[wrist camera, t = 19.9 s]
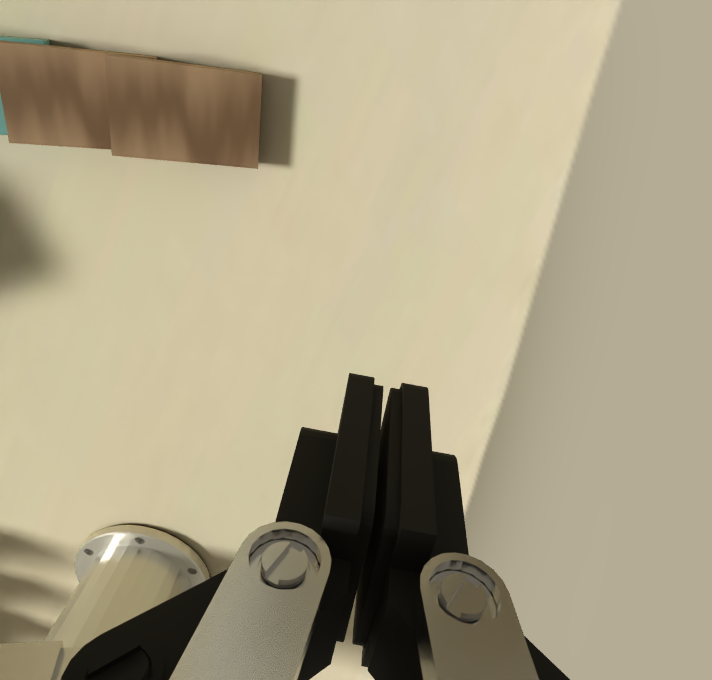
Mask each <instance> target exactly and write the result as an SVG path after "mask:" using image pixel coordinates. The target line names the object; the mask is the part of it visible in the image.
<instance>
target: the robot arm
mask: <svg viewBox="0 0 712 680" xmlns="http://www.w3.org/2000/svg"><path fill="white" fill-rule="evenodd" d="M382 399H383V386H379V385H374V378H373V377H368V376H363V375H357V374H352V373H349V378H348V383H347V388H346V393H345V398H344V404H343V409H342V414H341V419H340V425H339V430H338V434H337V433H331V432H326V431H321V430H315V429H310V428H305V427H302V428H301V431H300V435H299V438H298V442H297V445H296V449H295V453H294V456H293V460H292V464H291V467H290V471H289V474H288V478H287V482H286V485H285V489H284V493H283V496H282V500H281V504H280V507H279V511H278V514H277V518H276V522H273V523H270V524H267V525H264V526H261V527H259V528H258V529H256V530H255V531H253V532H252V533H250V534H249V535H248V537H247V538H246V539H245V540H244V542H243V543H242V545H241V546H240V548H239V550H238V552H237V554H236V556H235V558H234V560H233V561H232V563H231V565H230V567H229V569H227V570H225V571H223V572H221V573H219V574H217V575H216V576H214V577H212V578H210V576H209V572H208V570H207V568H206V566H205V564H204V562H203V561H202V560H201V558H200V557H199V556H198V555H197V554H196V553H195V552H194V551H193V550H192V549H191V548H190V547H189V546H188V545H186V544H185V543H183V542H182V541H180V540H179V539H177V538H175V537H173V536H171V535H169V534H167V533H165V532H162V531H159V530H156V529H153V528H149V527H144V526H136V525H118V526H112V527H107V528H104V529H101V530H99V531H97V532H95V533H94V534H92V535H91V536H90V537H88V538H87V539H86V541H85V542H84V544H83V545H82V546H81V548H80V550H79V551H78V553H77V555H76V559H75V572H76V575H77V578H78V581H79V584H78V586H77V588H76V589H75V591H74V592H73V594H72V596H71V597H70V599H69V601H68V602H67V604H66V606H65V607H64V609H63V611H62V612H61V614H60V615H59V617H58V619H57V620H56V622H55V624H54V625H53V627H52V629H51V630H50V632H49V634H48V635H47V637H46V638H45V640H44V642H23V643H3V644H0V680H309V679H311V678H312V677H313V676H315V675H316V674H317V673H319V672H320V671H322V670H323V669H324V668H326V667H327V666H328V665H330V664H331V660H332V656H333V652H334V648H335V644H336V641H339V642H344V639H345V635H346V631H347V627H348V623H349V619H350V615H351V611H352V607H353V603H354V599H355V596H356V606H355V617H354V628H353V644H355V645H361V646H363V651H362V665H361V666H365V667H368V671H369V673H370V674H371V675H372V677H373V678H374V679H375V680H570V679H569V678H568V677H567V676H565V674H564V673H562V672H561V671H560V670H559V669H558V668H557V667H556V666H555V665H554V664H553V663H552V662H551V661H550V660H549V659H548V658H547V657H546V656H545V655H544V654H543V653H542V652H540V650H538V649H537V648H536V647H535V646H534V645H533V644H532V643H531V642H530V641H529V640H528V639H527V638H526V637H525V636H524V635H523V632H522V629H521V626H520V623H519V620H518V617H517V614H516V612H515V608H514V606H513V603H512V600H511V597H510V594H509V592H508V590H507V588H506V586H505V584H504V582H503V580H502V579H501V578H500V577H499V576H498V574H497V573H496V572H495V571H494V570H493V569H492V568H491V567H489V566H488V565H486V564H485V563H484V562H482V561H481V560H478V559H476V558H474V557H471V556H469V554H468V546H467V538H466V529H465V521H464V513H463V505H462V496H461V488H460V480H459V471H458V463H457V459H456V457H455V455H450V454H444V453H439V452H434V451H432V443H431V426H430V410H429V394H428V388H427V387H421V386H416V385H411V384H405V383H402V384H401V387H400V389H395V388H391V389H390V392H389V396H388V401H387V405H386V409H385V413H384V417H383V422H382V426H381V414H382ZM380 428H381V430H380ZM356 592H357V595H356Z"/></svg>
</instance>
